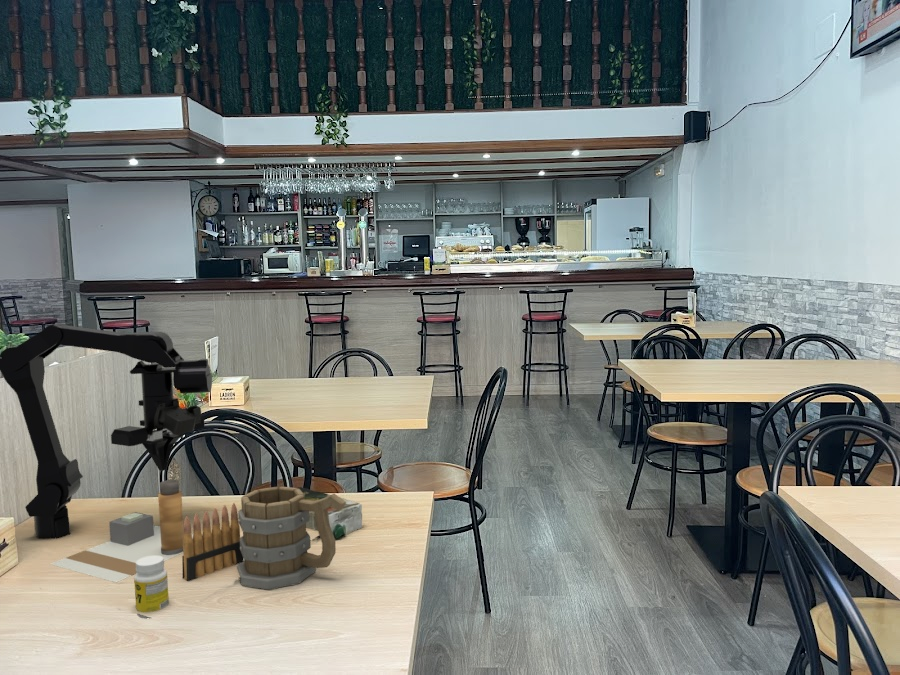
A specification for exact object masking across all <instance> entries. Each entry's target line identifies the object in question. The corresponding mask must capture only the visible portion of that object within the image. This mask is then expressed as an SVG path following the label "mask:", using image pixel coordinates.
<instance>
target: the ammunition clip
mask: <svg viewBox="0 0 900 675" xmlns="http://www.w3.org/2000/svg"><path fill="white" fill-rule="evenodd" d="M210 519H211V518H210V516H209V513H208V511H207V510H204V513H203V517H202V527H201V520H200V517H199V514H198V513H197V512H195V514H194V518H193V526H191V521H190V519H189V516H187V515H186V516H185V517H184V519H183V529H184V538H183V553H182V554H183V555H182V556H181V557H182V564H181V565H182V571H181V573H182V580H183V579H184V580H185V581H187V582H190V581H192V580H196V579H197V578H199V577H203V576H205V575H206V574H212V573H214V572H215V571H220V570H224V568H229V567H232V566H233V565H234V566H237V565H239V564H240V563H242V562H243V561H244V558H243V556H242V553H241V551H240V538H241V530H240V528H241V527H240V524H239V522H238V521H239V517H238V508H237V504H236V503H235V502H233V503H232V505H231V509H230V519H229V511H228V509H227V507H226V504H225V505H223V507H222V511H221V525H220V515H219V512H218V509H217V508H216V507H215V508H213V512H212V521H211V520H210ZM211 522H212V524H211ZM192 528H193V529H192ZM192 531H193V532H192ZM192 533H193V539H192Z"/></svg>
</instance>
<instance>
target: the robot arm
mask: <svg viewBox="0 0 900 675" xmlns="http://www.w3.org/2000/svg"><path fill="white" fill-rule="evenodd" d="M173 344H174V343H173V340H172V338H170V336H169V335H168V333H165V332H163V331H142V332H141V331H140V332H119V331H118V332H117V331H113V330H112V331H111V330H104V329H97V328H95V329H94V328H91V327H90V328H87V327H82V326H81V327H80V326H74V325H67V324H65V323H54V324H49V325H47V326H46V327H45V328H44V329H42V330H41V331H39V332H38V333H37V334H35V335H34V336H31V337H29V338H28V339H26V340H25V341H23V342H22V343H20V344H19V345H14V346H10V347H8V348H5V349H4V350H2V351H1V352H0V373H1V375H2V376H3V378H4V381H5V382H6V383H7V385H9V386H10V388H11V389H12V390H13V391H14V392H15V394H16V395H17V399H18V401H19V405H20V408H21V411H22V415H23V418H24V421H25V424H26V429H27V432H28V435H29V437H30V441H31V445H32V447H33V451H34V454H35V457H36V460H37V468H36V479H35V480H36V490H37V495H35V496H34V497H33V498H32V499H31V500H30V502H29V503H27V505H25V507H24V508H25V509H26V510H25V511H26V513H27V514H28V516H29V517H31V518H32V517H33V519H34V520H33V521H34V522H33V523H34V535H35V537H36V538H37V539H40V540H48V539H53V540H54V539H61V538H63V537H67V536H69V535H71V527H70V526H71V525H70V517H69V509H68V506H67V504H68V503H70V502H71V500H72V498H73V495H75V494H76V493H77V492H78V491H79V488H80V487H81V484H82V483H81V479H82V478H83V477H84V476H83V474H82V473H81V472H80V469H79V462H78V459H77V458H75V459H73V460H69V458H68V457H67V456H66V455H65V454H64V452H63V449H62V444H61V442H60V438H59V435H58V432H57V428H56V425H55V422H54V419H53V415H52V413H51V408H50V405H49V403H48V400H47V396H46V391H45V389H44V380H45V373H46V372H45V363H44V362H45V361H44V359H45V358H47V357H48V356H49V355H51V354H52V353H53V352H55V351H56V350H57V349H58V348H59V347H60V346H68V347H74V348H82V349H83V348H84V349H90V350H91V349H92V350H99V351H107V352H114V353H120V354H122V355H125V356H128V357H130V358H131V359H135V360H138V361H137V363H136V365H134V367H133V368H132V369H131V370H129V374H131V375H135V374H136V375H138V374H141V375H140V376H141V389H142V390H141V391H142V399H139V400H138V406H140V407H143V419H141V420H139V426H131V425H128V426H123V427H119V428H115V429H113V430H112V431H111V434H110V441H111V445H118V446H123V447H124V446H126V447H134V446H138V445H143V447H144V448H145V449H146V452H148V454H149V455H150V457H151V459H152V461H153V463H154V464H155V465H156V468H157V469H158V471H160V472H163V471H166V470H167V466H168V463H169V461H170V457H171V454H172V450H173V448H174V445H175V443H176V442H177V441H178V440H179V439H181V438H183V437H184V434H186V433H192V432H194V431H195V430H200V429H204V428H205V427H206V425H205V418H204V416H203V415H202V409H201V407H200V406H199V405H197V404H196V405H190V406H188V408H187V407H183V408H182V407H180V401H179V398H177V397H176V398H175V397H174V389H175V390H176V391H179V392H180V394H198V393H205V394H206V393H211V392H212V387H213V374H212V372H211V368H210V365H209V359H208V358H200V359H195V360H194V359H193V360H185V359H184V358H183V357H182V355H180V353H179V352H178V351H177V350H176V349H175V347H174V346H173ZM145 362H146V363H148V364H146V363H145ZM150 363H151V364H150ZM141 426H142V427H141Z"/></svg>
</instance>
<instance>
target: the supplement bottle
mask: <svg viewBox="0 0 900 675" xmlns="http://www.w3.org/2000/svg"><path fill="white" fill-rule="evenodd" d="M164 567H165V561H164V559H163V557H162V556H157V555H153V556H146V557H143V558H140V559H139V560H137V561H136V572H137V573H136V574H135V575H134V577H133V579H134V594H135V595H134V596H135V608H136V610H137V611H138V612H141V613H150V612H156V611H159V610H162V609H163V608H165V607H166V606H168V605H169V603H170V599H169V583H168V581H169V580H168V571H167V570H166V568H164ZM136 615H137V616H138V617H139V618H141V619H146V620H147V618H149V619H152V617H150V616H147V615H144V614H140V613H136Z"/></svg>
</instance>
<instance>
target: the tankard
mask: <svg viewBox="0 0 900 675" xmlns="http://www.w3.org/2000/svg"><path fill="white" fill-rule="evenodd" d="M341 498H342V497H341V496H338V495H337V494H336V493H331V494H330V495H329V496H327V497H325V498H323V499H320V500H317V501H311V500H305V495H304V494H303V493H302V491H301V490H300V489H298V488H297V487H291V486H290V487H289V486H273V487H271V486H270V487H265V488H260V489H259V488H258V489H255V490H252V491H251V492H248V493H246V494H244V495H242V496H241V498H240V499H241V500H240V501H241V503H240V504H241V509H238V510H237V513H238V522H239V526H240V528H241V531H242V536H240V551H241V553H242V556H243V560H244V561H243V562H242V563H239V564H236V569H237V573H238V574H239V577H238V579H239V581H240V584H241V586H244V587H249V588H256V589H260V588H261V590H266V589H267V590H266V591H269V589H270V590H273V589H274V588H275V589H279V588H285V587H290V586H294V585H299V584H300V583H301V582H303V581H305V580H306V579H307V578H308V577H310V576H311V575H312V574H314V573H315V572H316V571H317V569H318V568H319V569H320V568H323V569H324V568H328V567H330V565H331V563H332V561H333V559H334V557H335V555H336V550H337V549H336V539H335V538H334V535H333V532H332V530H331V527H330V524H329V517H328V509H327V508H329V507H331V506H332V507H334V508H335V509H336V510H338V511H341V510H342V509H343V508H344V506H345V504H346V502H345V501H344V500H342V499H341ZM309 511H313V512H314V513H315V520H316V527H317V530H318V531H317V530H316V531H317V532H318V536H319V535H320V540H321V544H322V546H321V554H314V553H312V552H308V551H309V550H310V549H311V548H312V547H311V535H310V534H309V533H308V531H307V528H306V523H307V522H308V521H309Z"/></svg>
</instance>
